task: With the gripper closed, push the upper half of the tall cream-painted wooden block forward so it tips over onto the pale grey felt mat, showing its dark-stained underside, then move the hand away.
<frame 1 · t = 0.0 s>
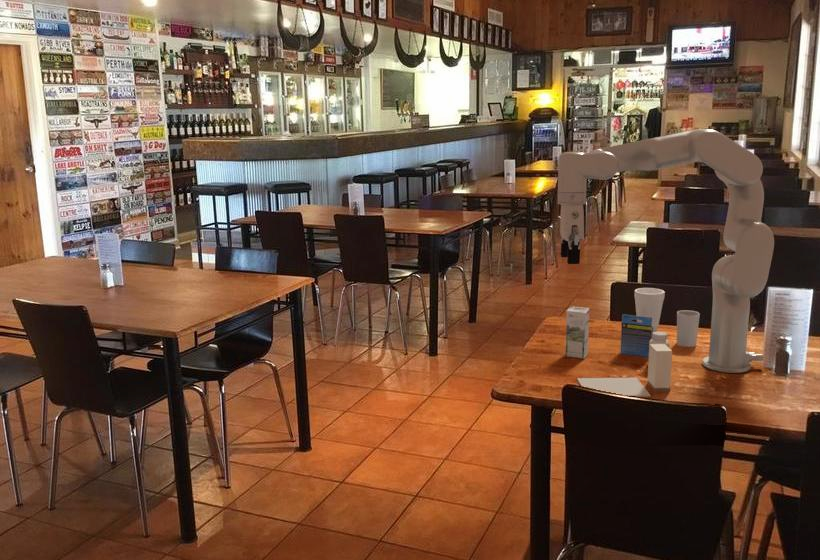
hand: (569, 260, 205), 31 cm above the table, tool pointing down, fingers open, 9 cm apart
drinking glass: (686, 344, 231), on the table
tall block: (658, 387, 196), on the table
syrup box: (576, 356, 222), on the table
label tape box: (636, 354, 223), on the table
foam cup: (647, 329, 248), on the table
pill bottle: (657, 366, 212), on the table
felt mat: (612, 387, 196), on the table
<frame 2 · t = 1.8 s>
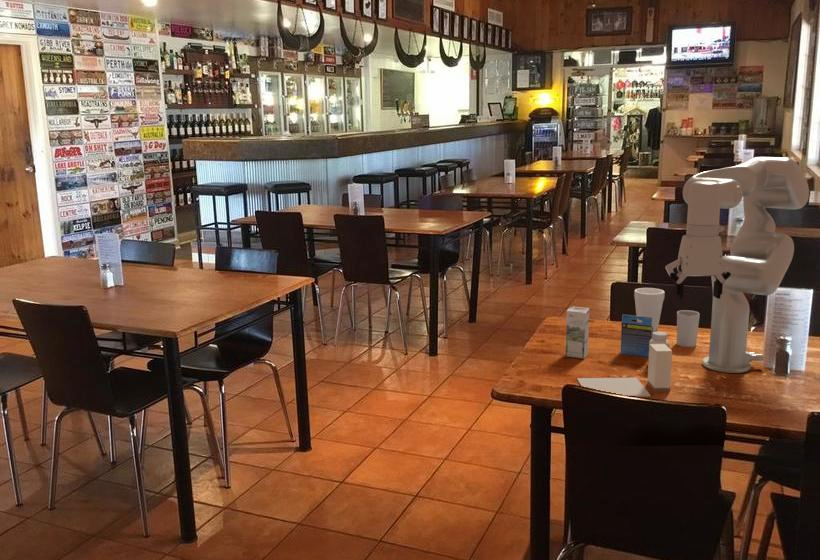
hand: (698, 297, 190), 24 cm above the table, tool pointing down, fingers open, 9 cm apart
nothing on the table moved.
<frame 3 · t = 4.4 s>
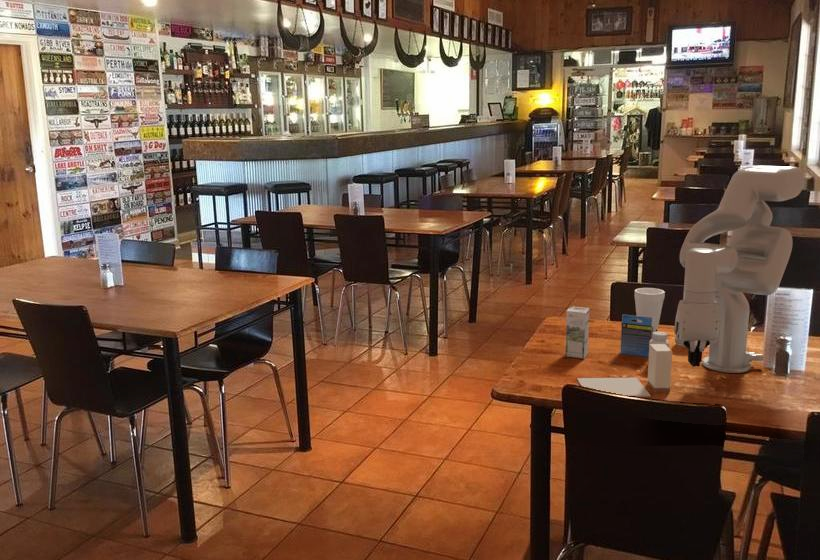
hand: (694, 364, 194), 6 cm above the table, tool pointing down, fingers closed
nothing on the table moved.
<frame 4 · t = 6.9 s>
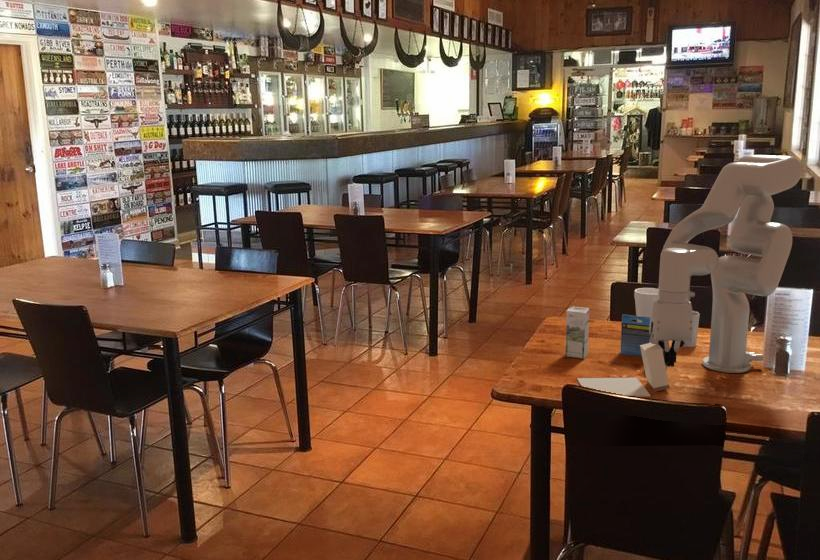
hand: (669, 364, 194), 6 cm above the table, tool pointing down, fingers closed
tall block: (658, 385, 196), on the table, tilted 13°, touching gripper
everything else where it was.
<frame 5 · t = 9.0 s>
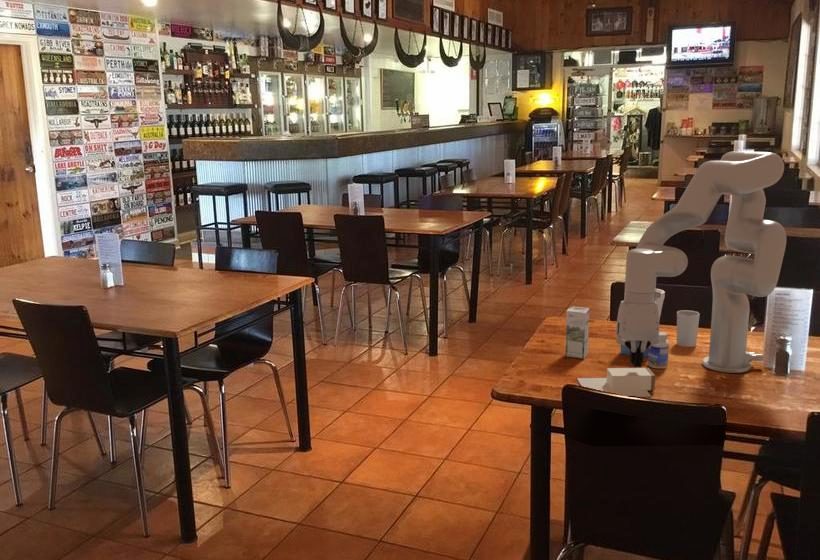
hand: (636, 365, 194), 6 cm above the table, tool pointing down, fingers closed
tall block: (651, 378, 195), point 2 cm above the table, tilted 90°, touching felt mat
everything else where it was.
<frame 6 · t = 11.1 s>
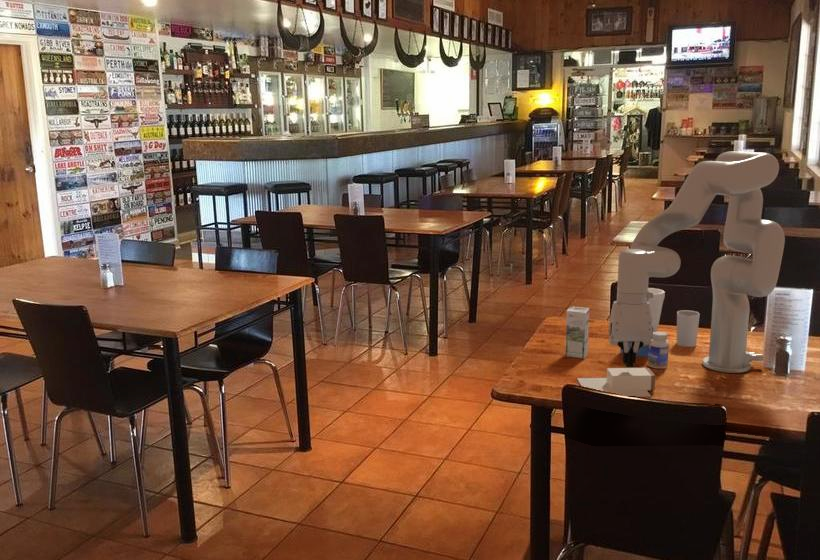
hand: (628, 365, 194), 6 cm above the table, tool pointing down, fingers closed
nothing on the table moved.
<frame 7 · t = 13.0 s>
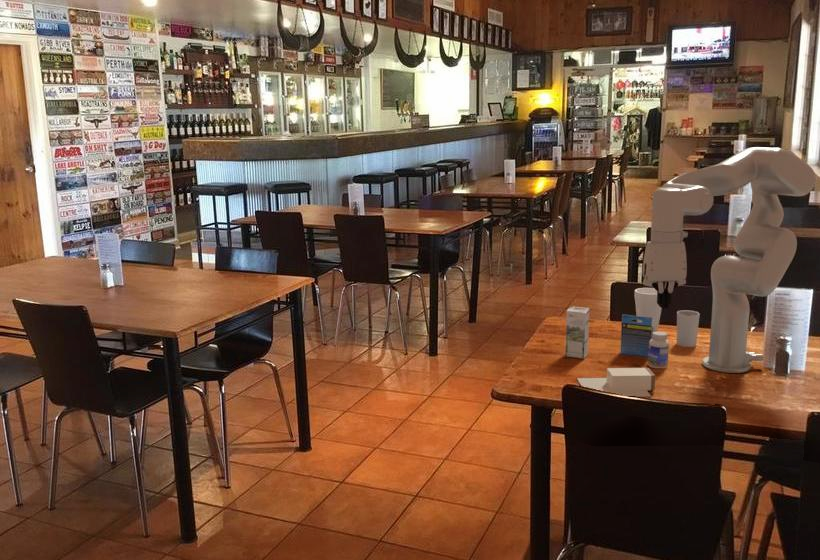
hand: (663, 306, 192), 21 cm above the table, tool pointing down, fingers closed
nothing on the table moved.
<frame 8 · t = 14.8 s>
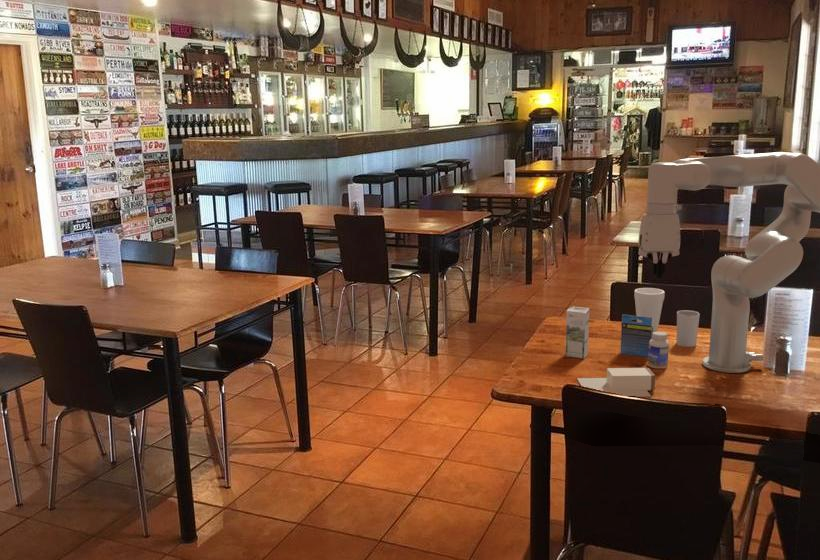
hand: (657, 276, 201), 27 cm above the table, tool pointing down, fingers closed
nothing on the table moved.
at the end: tall block tilted 90°; tall block inside the target area (11.6 cm from its centre), point 2.4 cm above the table; the gripper is holding nothing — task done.
